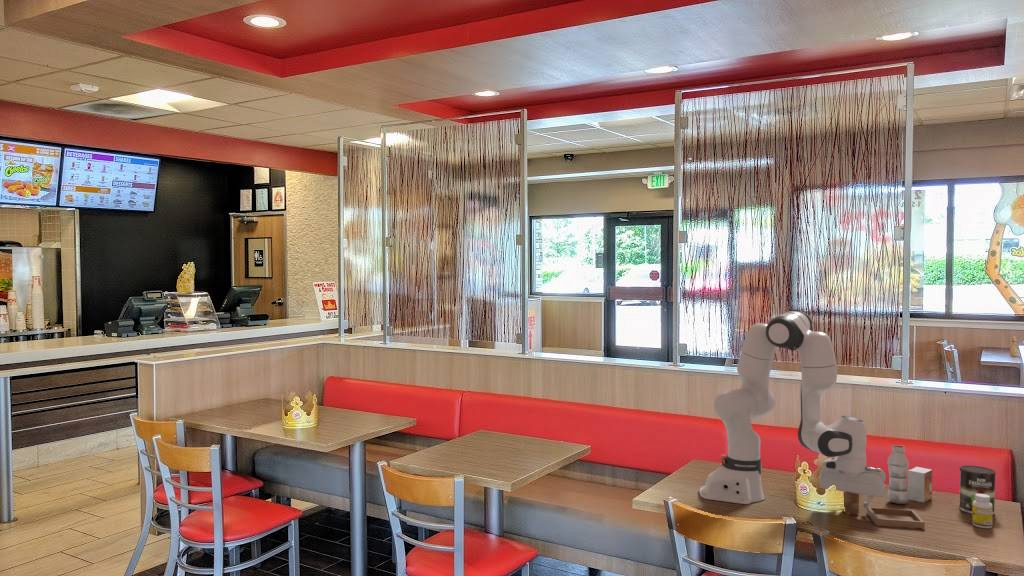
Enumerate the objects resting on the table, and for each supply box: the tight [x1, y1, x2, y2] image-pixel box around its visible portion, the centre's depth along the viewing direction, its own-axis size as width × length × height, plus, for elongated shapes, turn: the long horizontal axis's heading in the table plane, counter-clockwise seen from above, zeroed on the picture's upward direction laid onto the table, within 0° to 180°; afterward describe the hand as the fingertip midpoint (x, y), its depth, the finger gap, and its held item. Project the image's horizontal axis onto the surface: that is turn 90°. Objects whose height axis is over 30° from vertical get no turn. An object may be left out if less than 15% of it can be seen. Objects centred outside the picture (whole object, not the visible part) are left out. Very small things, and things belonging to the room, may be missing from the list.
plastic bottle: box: [886, 444, 910, 505], centre depth 254 cm, size 6×7×20 cm
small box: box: [907, 466, 933, 504], centre depth 259 cm, size 8×6×10 cm
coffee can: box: [958, 465, 997, 516], centre depth 247 cm, size 10×10×14 cm
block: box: [843, 492, 860, 515], centre depth 245 cm, size 4×4×7 cm
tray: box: [866, 506, 926, 530], centre depth 236 cm, size 14×12×2 cm
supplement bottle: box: [971, 494, 993, 529], centre depth 232 cm, size 5×5×10 cm
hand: (850, 505), depth 245 cm, fingers open, 8 cm apart
